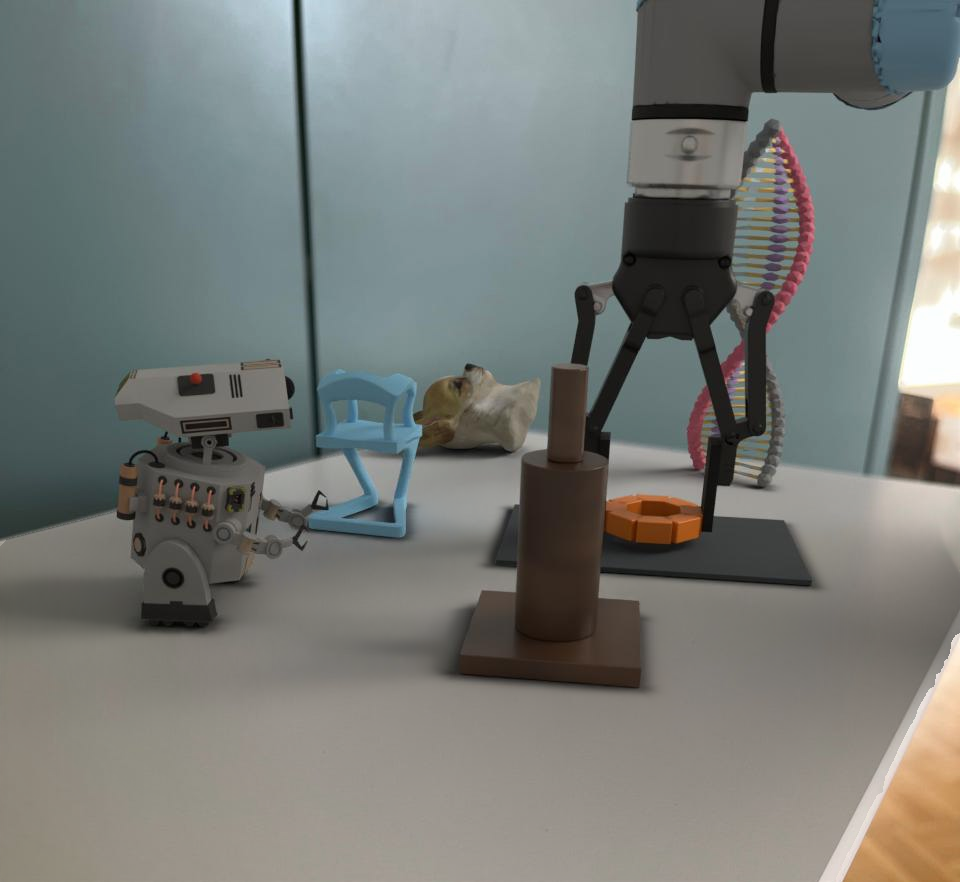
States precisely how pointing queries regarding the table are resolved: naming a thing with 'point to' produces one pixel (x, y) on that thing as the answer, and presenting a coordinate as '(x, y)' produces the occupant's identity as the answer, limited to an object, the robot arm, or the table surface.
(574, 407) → the ring stand
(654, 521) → the orange ring
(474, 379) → the toy dog
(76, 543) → the table surface
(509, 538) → the rubber mat
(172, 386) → the figurine
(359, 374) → the chair
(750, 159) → the dna model
